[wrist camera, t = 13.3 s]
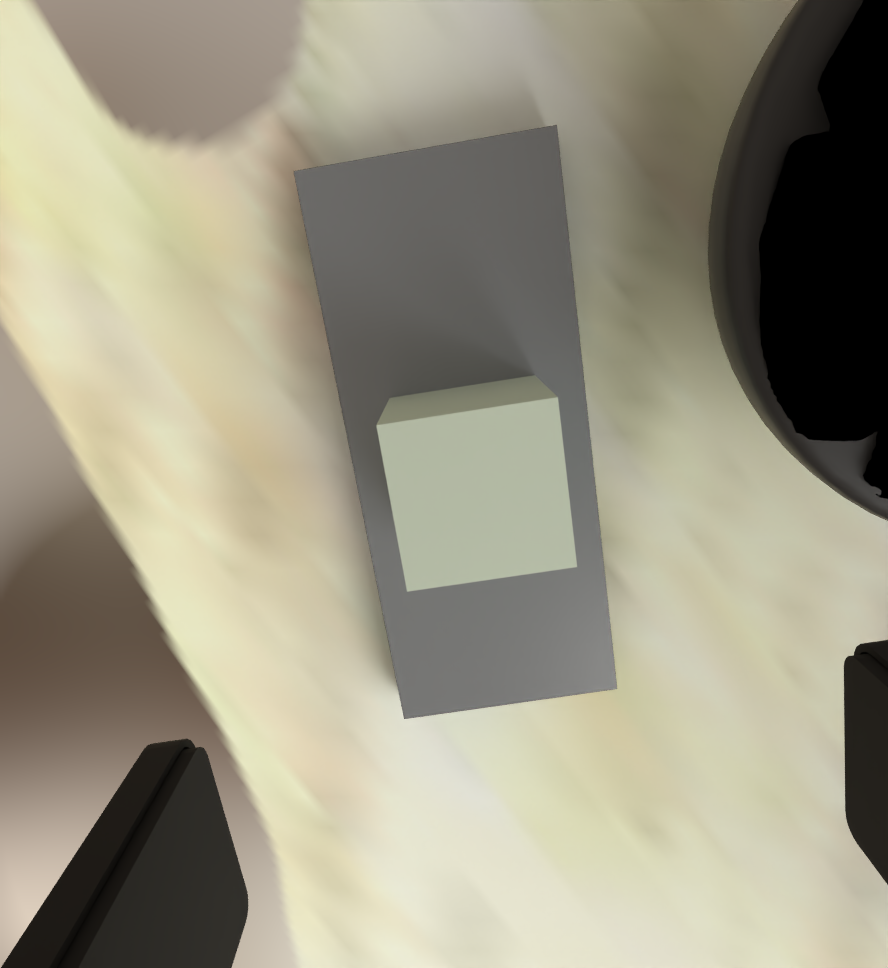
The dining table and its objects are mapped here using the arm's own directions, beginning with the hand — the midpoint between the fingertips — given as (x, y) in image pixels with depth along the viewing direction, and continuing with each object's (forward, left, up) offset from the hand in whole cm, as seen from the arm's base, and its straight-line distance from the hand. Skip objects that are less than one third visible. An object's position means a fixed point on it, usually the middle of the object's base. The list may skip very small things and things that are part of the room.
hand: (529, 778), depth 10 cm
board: (0, 0, -22) cm, 22 cm away
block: (0, 0, -20) cm, 20 cm away
